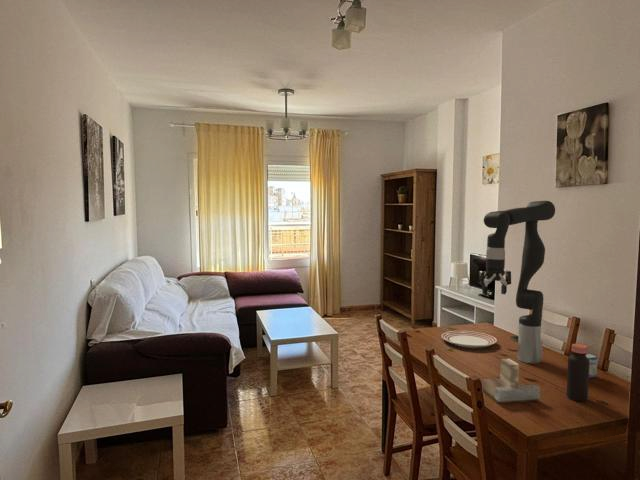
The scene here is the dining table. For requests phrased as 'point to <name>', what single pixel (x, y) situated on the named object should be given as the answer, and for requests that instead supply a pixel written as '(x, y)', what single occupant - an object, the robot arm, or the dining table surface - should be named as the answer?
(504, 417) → the dining table surface
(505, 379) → the cream tall block
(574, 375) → the bottle
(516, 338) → the phone
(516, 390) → the metal rail
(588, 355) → the medicine box
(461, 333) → the dinner plate
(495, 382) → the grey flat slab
